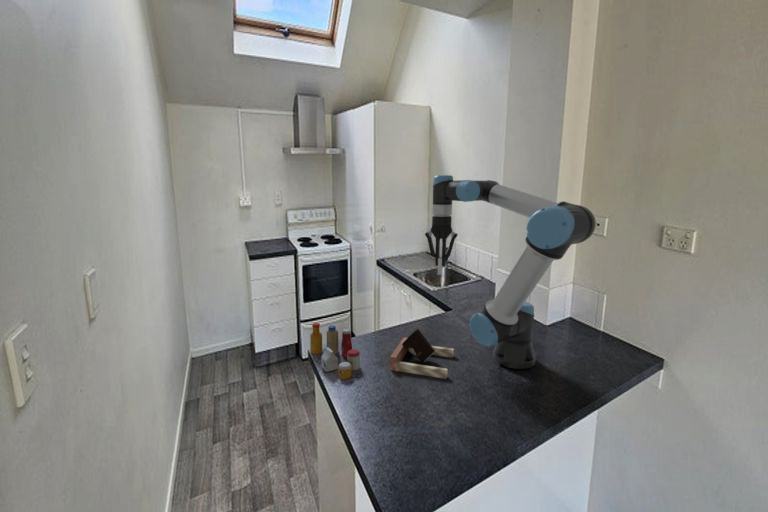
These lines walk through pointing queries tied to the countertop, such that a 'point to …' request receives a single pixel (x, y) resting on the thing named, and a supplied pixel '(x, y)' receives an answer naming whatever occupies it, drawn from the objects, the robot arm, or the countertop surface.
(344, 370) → the toy food set
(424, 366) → the u-shaped wooden frame
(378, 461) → the countertop surface
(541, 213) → the robot arm
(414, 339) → the dark brown cup
